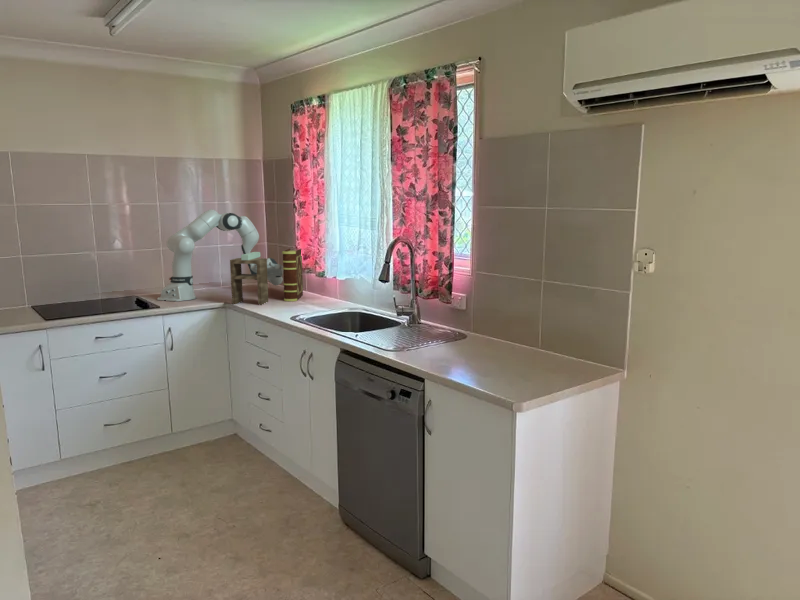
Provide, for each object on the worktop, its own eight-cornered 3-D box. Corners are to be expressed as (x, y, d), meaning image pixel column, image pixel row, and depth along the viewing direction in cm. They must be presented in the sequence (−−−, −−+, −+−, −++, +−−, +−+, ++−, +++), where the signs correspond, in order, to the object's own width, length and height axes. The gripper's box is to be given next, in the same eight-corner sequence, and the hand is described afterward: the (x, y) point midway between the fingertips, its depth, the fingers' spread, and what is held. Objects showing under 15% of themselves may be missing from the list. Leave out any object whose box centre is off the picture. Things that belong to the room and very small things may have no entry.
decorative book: (296, 301, 355) (294, 251, 349) (283, 301, 355) (281, 251, 350) (303, 295, 377) (301, 248, 372) (290, 295, 377) (289, 248, 372)
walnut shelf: (232, 304, 345) (229, 259, 341) (239, 301, 356) (237, 258, 352) (261, 305, 343) (259, 260, 338) (268, 301, 354) (266, 258, 349)
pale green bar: (241, 260, 340) (241, 254, 339) (254, 256, 358) (253, 251, 358) (248, 260, 339) (247, 255, 339) (260, 256, 358) (260, 251, 357)
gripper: (255, 267, 383) (247, 258, 370) (285, 267, 380) (279, 258, 367) (254, 276, 381) (246, 267, 368) (284, 276, 378) (277, 268, 365)
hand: (263, 263), depth 368 cm, fingers open, 8 cm apart
